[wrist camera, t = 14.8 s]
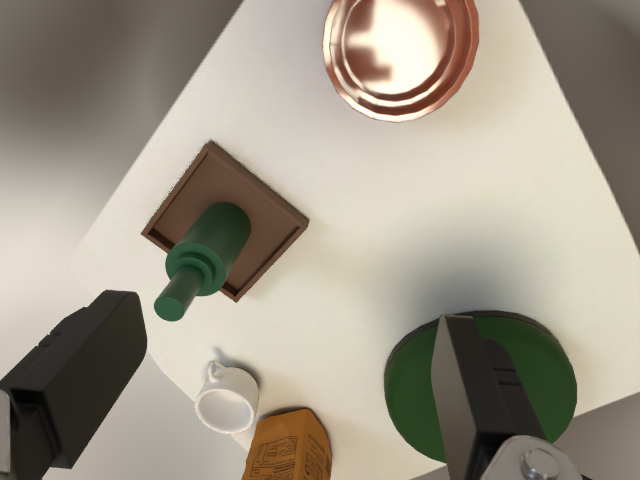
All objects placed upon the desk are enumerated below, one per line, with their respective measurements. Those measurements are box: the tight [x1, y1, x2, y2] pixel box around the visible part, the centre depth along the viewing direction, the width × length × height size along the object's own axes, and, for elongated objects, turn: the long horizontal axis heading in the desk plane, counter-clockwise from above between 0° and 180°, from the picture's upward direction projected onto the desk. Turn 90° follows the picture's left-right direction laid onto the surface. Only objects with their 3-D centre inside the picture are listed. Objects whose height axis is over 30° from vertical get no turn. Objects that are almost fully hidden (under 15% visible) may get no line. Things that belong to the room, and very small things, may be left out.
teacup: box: [195, 361, 259, 434], centre depth 56 cm, size 10×8×5 cm
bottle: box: [154, 202, 251, 321], centre depth 41 cm, size 6×6×16 cm
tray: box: [141, 141, 309, 303], centre depth 48 cm, size 13×13×2 cm
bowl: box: [322, 0, 479, 122], centre depth 37 cm, size 12×12×5 cm
